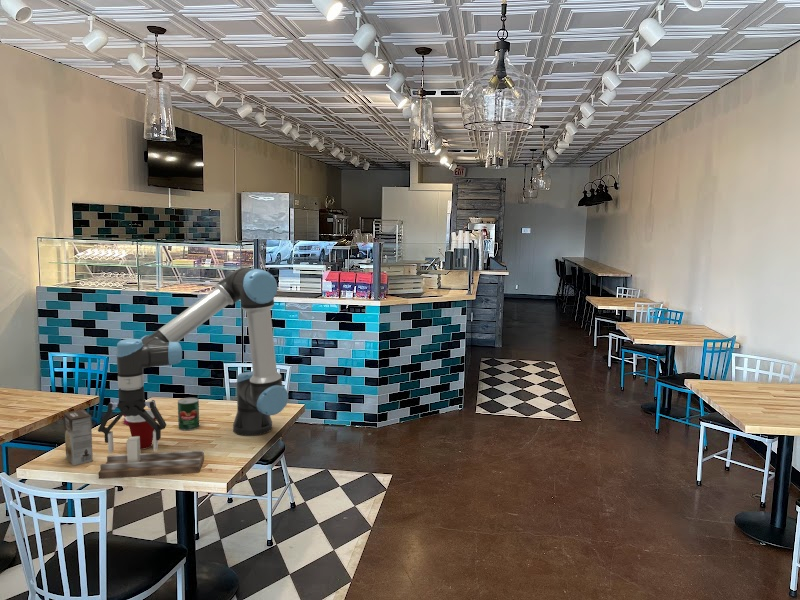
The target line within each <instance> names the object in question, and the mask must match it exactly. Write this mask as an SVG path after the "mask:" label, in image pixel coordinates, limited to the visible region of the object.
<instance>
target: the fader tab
mask: <svg viewBox="0 0 800 600" xmlns="http://www.w3.org/2000/svg"><path fill="white" fill-rule="evenodd" d="M140 454H141V449H140V436H136V437H132V436H130V437H128V438H127V440H126V455H127V462H128V463H130V462H139V461H140V460H141V458H140Z"/></svg>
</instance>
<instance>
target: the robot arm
mask: <svg viewBox="0 0 800 600" xmlns="http://www.w3.org/2000/svg"><path fill="white" fill-rule="evenodd" d="M277 292H278V283H277V280H276V279H275V277H274V275H273V274H271V272H269V271H266V270H264V269H261V268H251V267H241V268H238V269H236V270H235V271H234V270H233V272H231V273H230V274H228V275H227V276H226V277H224V278H223V279H221V280H220V281H219V282H217V283H215V288H214V289H212V290H211V291H209V292H208V293H206V295H204V296H203V297H202V298H200V299H198V300H196V302H195V303H193V304H191V305H190V306H189V307H187V308H186V309H184V310H183V311H182V312H181V313H179V314H178V315H177V316H175V317H174V318H173V319H171V320H170V321H168V322H167V323H165V324H164V325H163V326H161V327H160V328H158V329H157V330H155V331H154V332H153V333H151V334H147V335H146V334H145V335H144V336H142V337H140V338H126V339H122V340H119V341H118V342H117V344H116V355H115V356H116V363H117V365H116V367H117V387H118V390H117V392H118V402H114V401H110V402H108V405H107V411H106V412H105V415H104V417H103V419H102V421H101V422H100V424H99V427H98V429H97V432H98V433H103V434H104V442H105V444H108V445H107V447H108V454H112V453H113V452H114V431H113V430H112V429H113V428H114V426H115V425H116V424H117V423H118V421H119V420H120V419H121V418H122V417H124V416H123V415H125V416H137V415H140V416H141V417H142V418H143V419H144V420H145V421H147V422H148V423H149V424H150V425H151V426H152V427H153V428H154V431H153V441H152V444H153V445H152V446H153V452H156V451H158V448H159V443H158V442H159V441H160V440H161V437H162V432H161V431H162V430H164V429H166V427H167V423H166V421H165V419H164V417H163V416H162V414H161V412H160V411H159V409H158V408H157V405H156V400H155V399H152V400H151V401H146V400H145V387H144V385H145V383H144V382H145V380H144V378H145V377H144V369H146V368H151V367H152V368H154V367H163V366H172V365H175V364H176V365H177V364H179V363H181V362H182V358H183V350H182V346H181V343H180V341H181V340H182V339H184V338H185V337H187V336H189V334H190V333H192V332H193V331H194V330H196V329H198V328H199V327H200V326H201V325H203V324H204V323H205V322H207V321H208V320H209V319H211V318H212V317H214V316H215V315H216V314H218V313H219V312H220V311H222V310H223V309H225V307H227V306H228V305H231V306H233V305H234V304H235V303H237V302H238V301H240V306H241V307H240V308H241V309H242V310H243V311H244V312H245V313H246V321H247V329H248V330H247V331H248V338H249V346H250V347H249V348H250V357H251V365H252V367H251V368H252V371H244V372H242V373H239V374H238V375H237V376H236V377H237V378H236V382H235V384H236V401H237V402H236V403H237V405H236V406H237V407H236V408H237V409H236V410H237V412H236V414H235V418H234V421H233V423H232V431H233V433H234V434H236V435H240V436H259V435H263V434H267V433H269V432H271V431H272V430H273V420H272V418H271V416H274V415H275V416H276V415H277V414H279V413H281V412H283V410H284V409H285V408H286V406H288V405H287V404H288V401H289V393H288V391H287V389H286V388H285V387H284V386H283V379H282V378H283V377H282V374H281V373H279V371H277V361H276V360H277V359H276V351H275V342H274V341H275V340H274V334H273V333H274V331H273V321H272V315H271V314H272V313H271V310H272V309H273V307H274V305H275V300H274V299H275V296H277V294H278V293H277ZM146 407H147V408H148V409H149V410H151V412H152V413H153V415H154V417H155V418H156V421H155V420H154V419H153V418H152V417H151V416H150V415H149V414H148V413H147V411H146V410H147V409H145V408H146ZM116 408H117V409H118V410H119V411H120V412H119V413H118V415H116V417H115V418H114V419H113V420H112V421H111V423H109V425H108V426H107V423H108V421H109V419H110V417H111V415H112V413H113V411H114V410H115V409H116ZM106 426H107V427H106Z"/></svg>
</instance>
